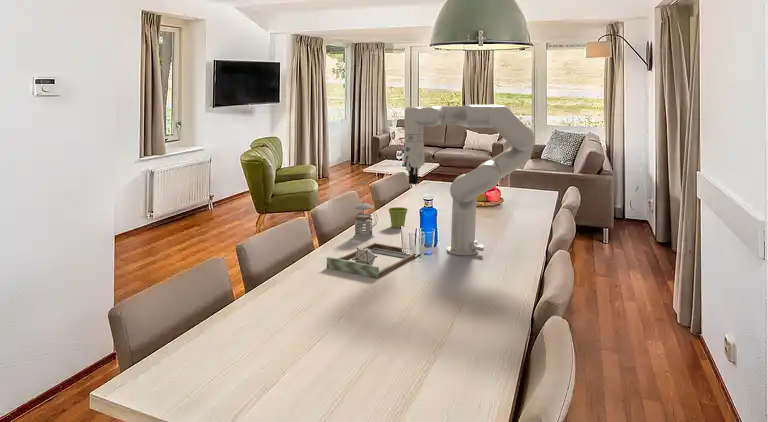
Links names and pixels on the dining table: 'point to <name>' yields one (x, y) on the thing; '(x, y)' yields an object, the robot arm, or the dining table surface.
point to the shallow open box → (366, 269)
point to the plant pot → (397, 216)
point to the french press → (363, 221)
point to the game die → (364, 256)
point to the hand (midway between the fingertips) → (413, 183)
